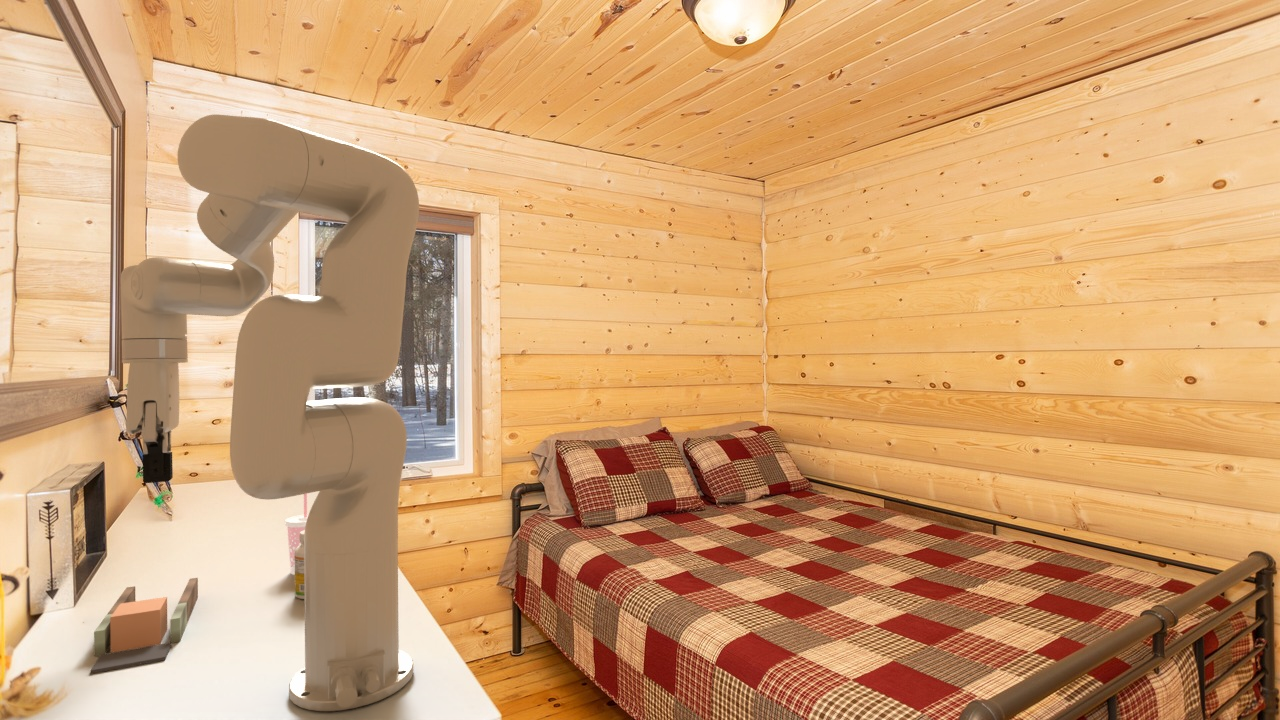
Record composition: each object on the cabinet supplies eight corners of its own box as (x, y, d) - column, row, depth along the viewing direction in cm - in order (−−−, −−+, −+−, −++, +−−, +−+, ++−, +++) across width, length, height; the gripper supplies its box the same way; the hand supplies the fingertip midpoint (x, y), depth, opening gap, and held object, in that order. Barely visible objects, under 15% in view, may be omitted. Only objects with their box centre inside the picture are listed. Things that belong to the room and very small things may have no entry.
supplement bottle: (326, 585, 104) (326, 524, 104) (339, 593, 100) (338, 530, 100) (290, 593, 100) (289, 530, 100) (301, 603, 96) (300, 537, 96)
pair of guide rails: (180, 641, 83) (179, 617, 83) (94, 656, 79) (94, 631, 79) (197, 597, 99) (197, 577, 99) (126, 608, 95) (126, 587, 94)
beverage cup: (325, 573, 109) (325, 490, 109) (284, 578, 107) (283, 493, 107) (325, 562, 115) (325, 484, 115) (286, 568, 112) (285, 487, 112)
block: (160, 644, 82) (160, 609, 82) (110, 653, 80) (110, 617, 80) (167, 630, 87) (167, 596, 87) (120, 638, 85) (120, 603, 85)
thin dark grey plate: (165, 660, 78) (165, 656, 78) (90, 673, 75) (90, 670, 75) (171, 645, 82) (171, 642, 82) (100, 658, 79) (100, 654, 79)
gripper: (134, 354, 97) (136, 476, 97) (109, 351, 84) (111, 493, 84) (194, 353, 101) (196, 471, 101) (179, 351, 88) (182, 486, 88)
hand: (158, 481), depth 93 cm, fingers closed
